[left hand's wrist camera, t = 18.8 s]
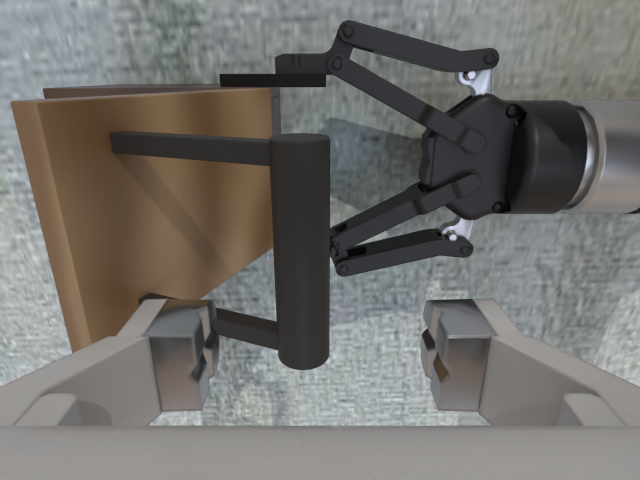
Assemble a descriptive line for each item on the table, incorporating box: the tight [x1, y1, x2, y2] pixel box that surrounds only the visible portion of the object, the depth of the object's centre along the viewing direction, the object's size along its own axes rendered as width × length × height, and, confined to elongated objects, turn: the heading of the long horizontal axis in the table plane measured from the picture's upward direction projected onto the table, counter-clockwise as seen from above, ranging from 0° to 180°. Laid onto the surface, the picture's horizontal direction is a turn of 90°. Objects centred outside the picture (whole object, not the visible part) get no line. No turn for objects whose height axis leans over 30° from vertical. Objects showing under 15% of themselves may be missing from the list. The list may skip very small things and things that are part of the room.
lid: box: [11, 88, 330, 370], centre depth 19 cm, size 14×9×9 cm
